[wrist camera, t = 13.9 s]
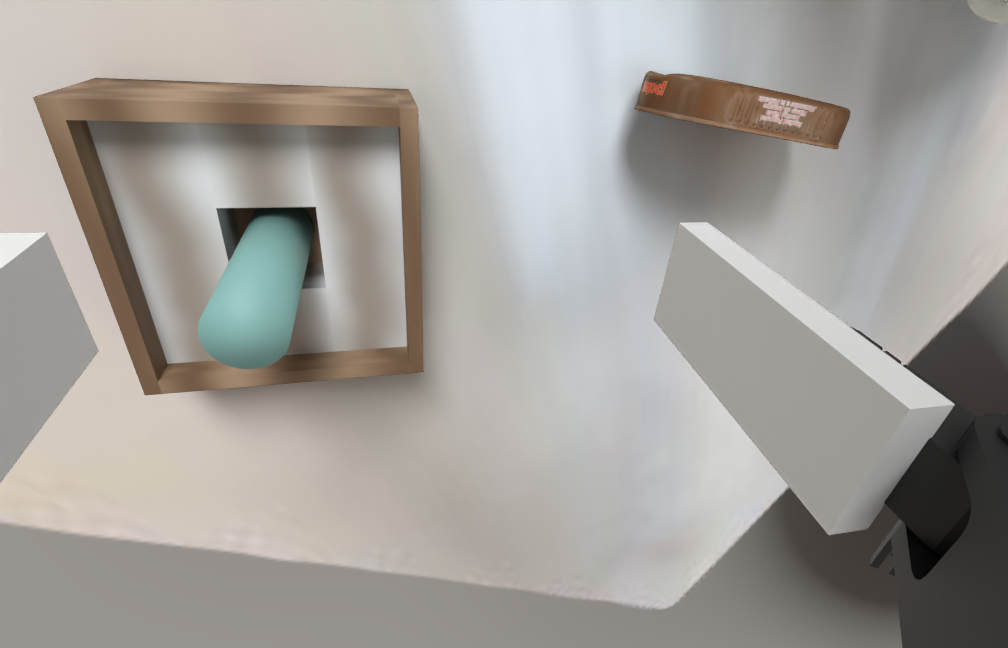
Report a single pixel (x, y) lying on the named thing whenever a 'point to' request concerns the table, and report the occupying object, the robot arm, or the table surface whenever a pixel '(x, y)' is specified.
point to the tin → (743, 108)
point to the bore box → (247, 217)
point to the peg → (259, 290)
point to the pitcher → (990, 10)
